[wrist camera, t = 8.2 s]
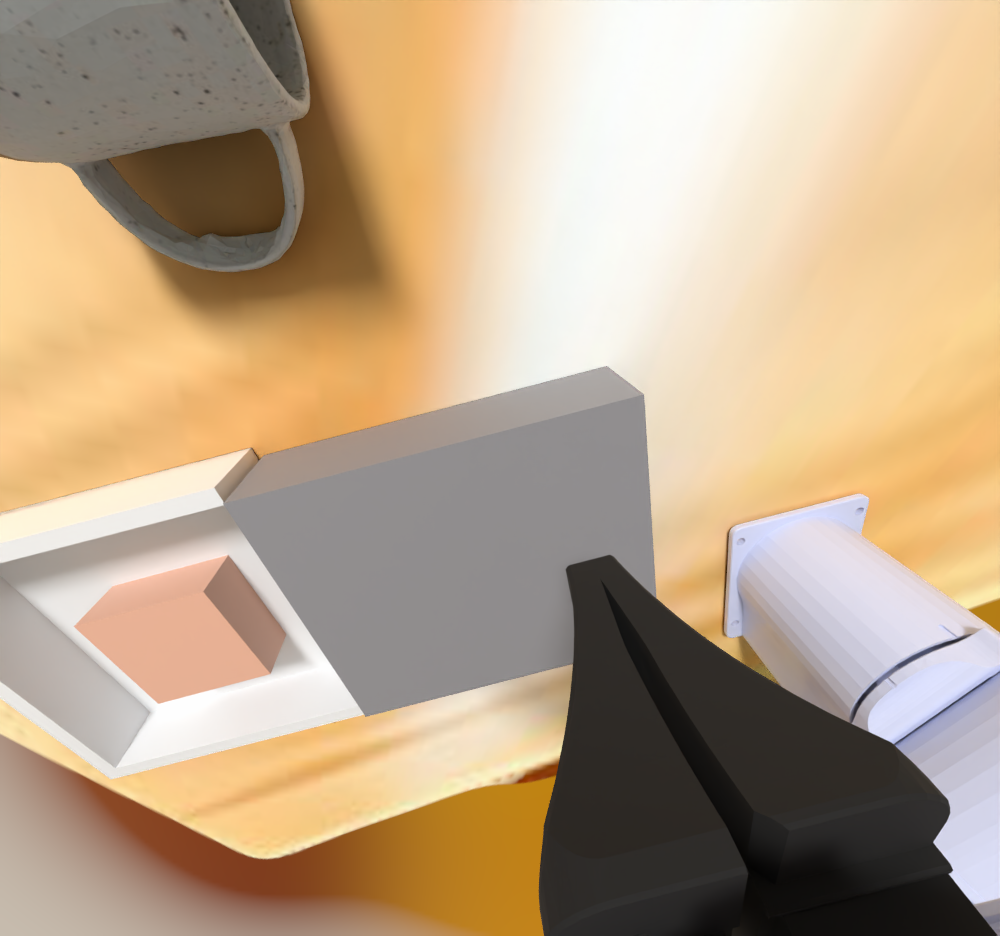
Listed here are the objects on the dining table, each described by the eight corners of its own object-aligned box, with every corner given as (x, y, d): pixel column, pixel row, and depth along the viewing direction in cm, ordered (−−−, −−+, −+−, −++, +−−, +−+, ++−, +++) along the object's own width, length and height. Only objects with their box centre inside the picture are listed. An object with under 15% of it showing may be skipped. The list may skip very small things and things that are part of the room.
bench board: (629, 587, 26) (658, 641, 22) (376, 652, 26) (365, 716, 22) (606, 366, 19) (644, 394, 15) (263, 455, 19) (222, 503, 16)
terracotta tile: (158, 703, 22) (184, 661, 24) (270, 674, 22) (286, 634, 24) (73, 626, 19) (112, 586, 21) (202, 591, 19) (228, 555, 21)
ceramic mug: (-103, -147, 11) (-1034, -791, 4) (210, -239, 10) (-198, -1067, 4) (165, 294, 16) (-35, 339, 9) (374, 235, 16) (325, 239, 9)
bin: (374, 658, 26) (365, 714, 23) (149, 716, 26) (111, 779, 23) (251, 447, 19) (214, 487, 16) (-60, 528, 19) (-157, 583, 16)
